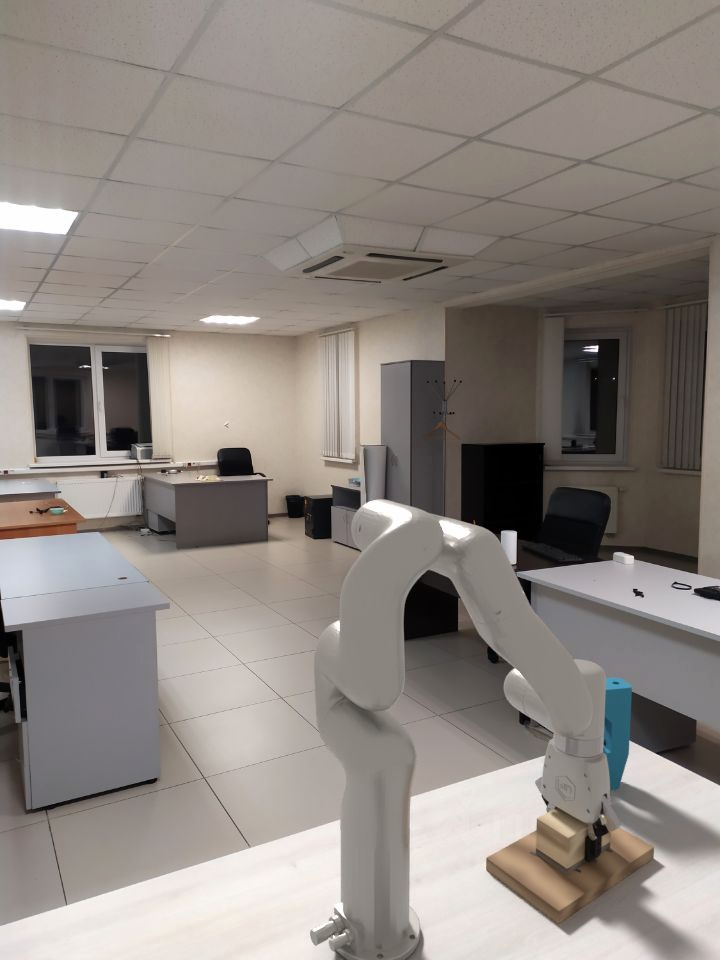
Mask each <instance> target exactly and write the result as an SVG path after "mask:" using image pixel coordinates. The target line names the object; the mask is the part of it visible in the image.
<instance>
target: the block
mask: <svg viewBox="0 0 720 960" xmlns="http://www.w3.org/2000/svg"><path fill="white" fill-rule="evenodd" d="M632 688H633V686H632V684H630V683H628V682H627V681H625V680H624V679H623V678H620V677H616V676H615V677H606V695H605V719H604V744H603V753H605V754H606V757H607V762H608V769H609V778H610V791H611V790H617V789H618V790H619V788H620V784H621V782H622V779H623V775H624V773H625V768H626V765H627V761H628V759H629V755H630V740H631V739H630V738H631V737H630V735H631V716H632V715H631V713H632V691H633V690H632Z"/></svg>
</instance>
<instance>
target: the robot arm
mask: <svg viewBox="0 0 720 960" xmlns="http://www.w3.org/2000/svg"><path fill="white" fill-rule="evenodd" d="M350 526H351V530H350V531H351V532H350V533H351V536H352V540H353V542H354V544H355V545H356V546H357V547H356V548H358V549H359V550H360V551H361V554H360V555H359V556H358V558H357V559H356V560H355V561H354V563H353V564H352V566H351V567H350V569H349V570H348V572H347V574H346V576H345V578H344V580H343V584H342V585H341V590H340V597H339V620H336V621H334V622H332V623H330V624H329V625H328V626H327V627H326V628H325V629H324V630H323V631H322V633H321V634H320V636H319V637H318V640H317V643H316V645H315V649H314V655H313V673H314V675H313V677H314V698H315V702H314V703H315V716H316V724H317V729H318V734H319V736H320V739H321V740H322V742H323V744H324V745H325V747H326V748H327V749H328V750H329V752H330V753H331V754H332V756H333V757H334V758H335V760H336V762H338V764H339V765H340V766H341V768H342V770H343V771H344V774H345V779H346V781H345V782H346V783H345V788H344V789H345V790H344V792H343V794H342V795H343V796H342V798H341V802H340V813H339V814H340V818H339V821H340V822H339V827H340V830H339V831H340V902H338V903H337V904H334V905H333V911H334V912H333V913H332V914H331V916H330V917H328V922H326V923H322V924H319V925H318V926H315V927H314V928H312V929H310V930H309V936H310V939H311V942H312V943H313V945H314V946H316V947H317V946H318V945H320V944H322V943H324V942H326V941H327V940H328V946H329V949H330V950H331V951H332V952H337V953H339V955H340V956H341V957H343V958H344V959H346V960H406V959H408V958H409V957H410V956H411V955H412V954H413V953H414V952H415V951H416V949H417V947H418V945H419V943H420V940H421V923H420V919H419V917H418V914H417V912H416V911H415V910H414V909H413V907H412V906H411V905H410V887H411V886H410V883H411V882H410V878H411V876H410V868H411V867H410V866H411V863H410V862H411V861H410V860H411V858H410V857H411V852H410V851H411V824H410V823H411V797H412V791H413V784H414V780H415V775H416V769H417V764H418V763H417V762H418V755H417V754H418V753H417V749H416V745H415V742H414V740H413V738H412V736H411V735H410V732H408V730H407V729H406V728H405V726H404V725H403V724H402V722H400V720H398V719H397V718H395V716H394V715H393V714H391V713H390V712H389V711H388V709H391V708H393V706H394V705H396V704H397V702H398V701H399V699H400V698H401V696H402V694H403V692H404V688H405V681H406V669H405V668H406V666H405V665H406V663H405V632H404V629H405V628H404V625H405V624H404V620H405V619H404V617H405V604H406V600H407V597H408V595H409V593H410V591H411V590H412V587H413V586H414V585H415V584H416V583H417V581H418V580H419V579H420V578H421V577H422V575H424V574H425V573H426V572H427V571H432V572H435V573H437V574H439V575H442V576H444V577H446V578H448V579H450V581H451V582H452V584H453V587H455V590H456V591H457V593H458V595H459V597H460V599H461V601H462V603H463V606H464V607H465V609H466V610H467V613H468V614H469V617H470V619H471V621H472V623H473V626H474V627H475V629H476V631H477V633H478V634H479V636H480V637H481V638H482V639H483V640H484V642H485V643H486V644H487V645H488V646H489V647H490V648H491V649H492V650H493V651H494V652H495V653H496V654H498V655H499V657H501V658H502V659H503V660H505V661H506V662H507V663H508V664H509V665H511V666H512V667H513V668H512V669H511V670H510V671H509V672H508V674H507V675H506V676H505V679H504V682H503V692H504V693H503V694H504V696H505V698H506V700H507V701H508V702H509V704H510V705H512V707H514V708H515V709H516V710H518V711H520V713H522V714H524V715H525V716H526V717H528V718H530V719H531V720H534V721H535V722H537V723H538V724H540V726H542V727H543V728H544V727H545V728H546V729H547V730H548V731H550V732H551V733H553V737H552V738H551V739H549V741H548V744H547V748H546V751H545V756H544V761H543V767H542V773H541V774H542V775H541V777H539V778H538V779H536V780H535V783H534V784H535V786H536V787H537V789H538V791H539V793H540V794H541V798H542V800H543V802H544V805H545V806H546V813H548V812H550V811H552V810H553V809H555V808H557V807H558V808H560V809H561V810H563V811H565V812H566V813H568V814H570V815H572V816H573V817H575V818H577V819H578V820H580V821H582V822H584V823H586V827H587V831H588V836H587V837H586V838H585V861H587V862H590V861H592V860H593V859H595V858H597V857H599V856H600V854H601V847H602V836H604V835H606V834H607V833H610V832H612V831H614V830H616V829H618V828H622V823H621V820H620V819H619V818H618V815H617V814H616V812H615V810H614V809H613V807H612V805H611V790H610V778H609V769H608V762H607V757H606V754H605V753H603V744H604V719H605V695H606V678H607V675H606V671H605V670H604V669H603V667H601V666H600V664H597V663H595V662H594V661H590V660H586V659H579V658H578V659H576V658H575V659H574V658H573V657H572V655H571V654H570V653H569V651H568V650H567V649H566V648H565V646H564V645H563V644H562V643H561V642H560V640H558V638H557V637H556V635H555V634H554V633H553V632H552V631H551V630H550V628H549V627H548V625H546V624H545V622H544V621H543V620H542V618H540V617H539V615H538V614H537V613H536V612H535V611H534V609H533V608H532V606H531V604H530V602H529V600H528V598H527V596H526V593H525V592H524V589H523V587H522V585H521V583H520V580H519V579H518V577H517V574H516V573H515V570H514V568H513V566H512V563H511V562H510V559H509V557H508V555H507V553H506V551H505V549H504V547H503V545H502V543H501V542H500V540H499V538H498V537H497V536H496V534H494V533H493V532H492V531H490V530H489V529H487V528H485V527H483V526H479V525H476V524H472V523H469V522H465V521H462V520H458V519H455V518H451V517H446V516H443V515H438V514H435V513H431V512H427V511H426V510H423V509H420V508H418V507H415V506H411V505H406V504H403V503H398V502H395V501H393V500H390V499H389V500H388V499H380V498H379V499H374V500H370V501H368V502H365V503H364V504H363V505H361V506H360V507H359V509H357V511H356V512H355V514H354V515H353V517H352V520H351V525H350ZM602 815H604V817H605V819H606V821H607V823H606V824H604V822H603V818H602ZM594 823H596V827H597V828H595V826H594ZM329 938H330V939H329Z"/></svg>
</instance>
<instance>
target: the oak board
mask: <svg viewBox="0 0 720 960" xmlns="http://www.w3.org/2000/svg"><path fill="white" fill-rule="evenodd" d="M654 857H655V846H653V845H652V844H650V843H648V842H646V841H645V840H643V839H641V838H639V837H637V836H635V835H634V834H632V833H631V832H629V831H627V830H625V829H623V828H622V827H620V828H618V829H616V830H614V831H612V832H611V840H610V848H608V849H607V850H605V851H604V852H602V853H601V854H600V856H599V857H597V858H595V859H593V860H592V861H590V862H586V863H585V864H583V865H582V866H580V867H579V868H577V869H575V870H574V871H572V872H571V873H569V874H568V875H566V874H565V873H563V872H562V871H560V870H559V869H558V868H556V867H555V866H553V865H552V864H550V863H549V862H547V861H546V860H544V859H543V858H541V857H540V856H538V855H537V854H536V830H534V831H532V832H531V833H529V834H527V835H525V836H523V837H521V838H520V839H517V840H515V841H514V842H512V843H511V844H509V845H507V846H505V847H504V848H501V849H499V850H498V851H495V852H494V853H493V854H490V855H488V856H487V857H486V859H485V870H486V871H488V873H490V874H491V875H493V876H494V877H495V878H497V879H498V880H499V881H501V882H502V883H503V884H505V886H507V887H509V888H510V889H512V890H513V892H515V893H517V894H518V895H520V897H521V898H523V899H524V900H526V901H527V902H528V903H530V904H531V905H533V907H535V908H536V909H538V910H539V911H540V912H542V913H543V914H545V915H546V916H547V917H548V918H549V919H551V920H552V921H554V922H555V923H556V924H557V925H559V924H561V923H562V922H564V921H565V920H567V919H569V918H570V917H571V916H573V915H574V914H575V913H577V912H579V910H581V909H583V908H584V907H586V906H587V905H588V904H590V903H591V902H592V901H594V900H595V899H597V898H598V897H599V896H601V895H603V894H604V893H606V892H607V891H609V890H610V889H611V888H613V887H614V886H616V885H617V884H618V883H620V882H622V881H623V880H625V879H626V878H627V877H628V876H630V875H632V874H633V873H634V872H636V871H637V870H639V869H641V868H642V867H643V866H645V865H646V864H648V863H649V862H650V861H652V860H654Z"/></svg>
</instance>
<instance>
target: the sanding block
mask: <svg viewBox="0 0 720 960" xmlns="http://www.w3.org/2000/svg"><path fill="white" fill-rule="evenodd" d="M602 818H603V822H604V824H606V823H607V821H606V819H605V817H604V815H602ZM594 826H595V828H597V827H596V823H594ZM535 831H536V854H537V855H538V856H540V857H541V858H543V859H544V860H546V861H547V862H549V863H550V864H552V865H553V866H555V867H556V868H558V869H559V870H560V871H562V872H563V873H565V874H566V875H568V874H569V873H571V872H572V871H574V870H575V869H577V868H579V867H580V866H582V865H583V864H585V863H586V862H587V861H585V838H586V837H587V836H588V831H587V827H586V823H584V822H582V821H580V820H578V819H577V818H575V817H573V816H572V815H570V814H568V813H566V812H565V811H563V810H561V809H560V808H558V807H557V808H555V809H553V810H552V811H550V812H548V813H547V812H546V813H544V814H542V815H540V816H539V817H537V818H536V829H535ZM610 840H611V832H610V833H607V834H606V835H604V836H602V847H601V853H602V852H604V851H605V850H607V849H608V848H610Z"/></svg>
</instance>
